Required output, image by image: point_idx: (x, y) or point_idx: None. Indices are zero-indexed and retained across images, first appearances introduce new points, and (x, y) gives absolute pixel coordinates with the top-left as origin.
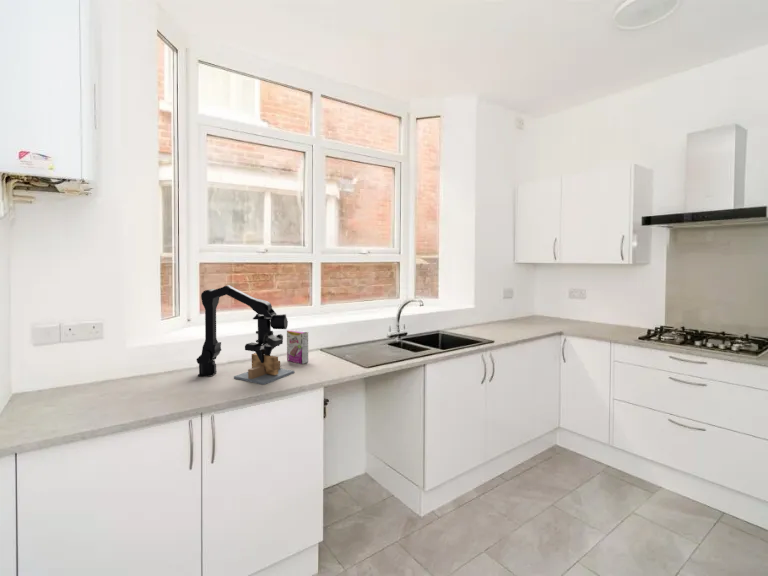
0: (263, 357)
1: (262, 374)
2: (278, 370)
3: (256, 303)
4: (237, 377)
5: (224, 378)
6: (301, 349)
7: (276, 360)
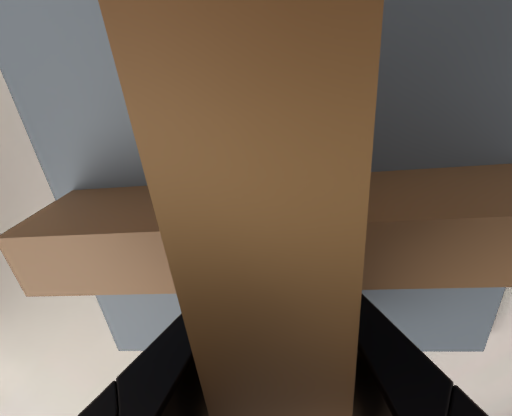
0: (385, 355)
1: None
2: (115, 165)
3: None
4: (490, 316)
5: (495, 379)
6: None
7: None
